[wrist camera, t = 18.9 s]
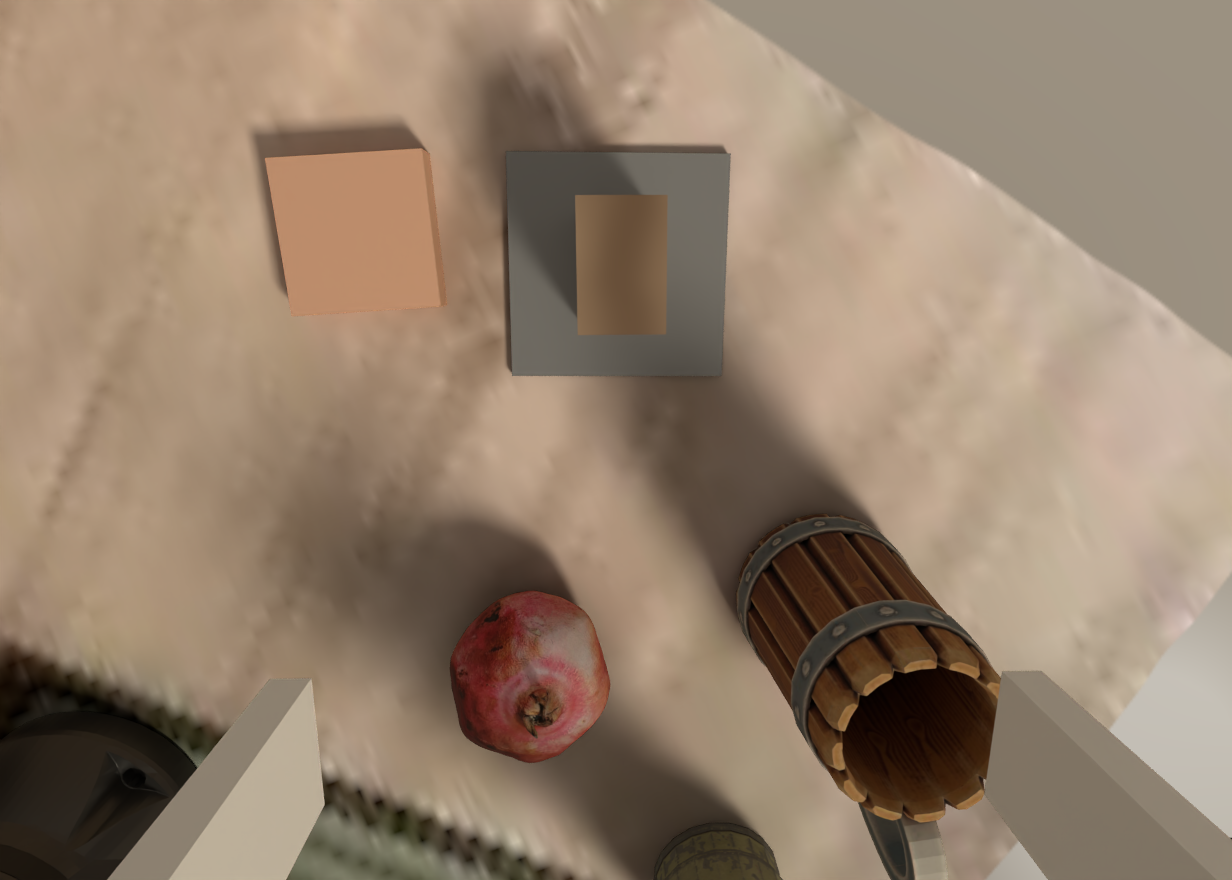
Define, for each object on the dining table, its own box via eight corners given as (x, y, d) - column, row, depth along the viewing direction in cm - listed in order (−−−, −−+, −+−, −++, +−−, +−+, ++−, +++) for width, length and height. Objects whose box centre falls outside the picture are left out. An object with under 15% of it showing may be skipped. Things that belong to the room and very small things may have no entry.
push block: (581, 323, 39) (577, 335, 32) (579, 211, 38) (575, 195, 30) (652, 322, 40) (666, 334, 32) (653, 211, 38) (667, 194, 30)
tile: (291, 316, 38) (264, 157, 36) (307, 314, 40) (282, 164, 38) (440, 306, 38) (421, 148, 36) (448, 304, 40) (431, 155, 38)
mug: (723, 523, 43) (788, 650, 28) (894, 496, 43) (1048, 610, 28) (750, 743, 46) (821, 957, 32) (908, 718, 46) (1052, 922, 32)
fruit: (469, 710, 45) (434, 828, 36) (458, 574, 43) (418, 660, 34) (610, 705, 46) (614, 821, 36) (606, 569, 43) (609, 653, 34)
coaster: (513, 374, 40) (512, 375, 40) (506, 152, 38) (505, 151, 37) (720, 374, 41) (721, 376, 40) (728, 155, 38) (730, 153, 38)
